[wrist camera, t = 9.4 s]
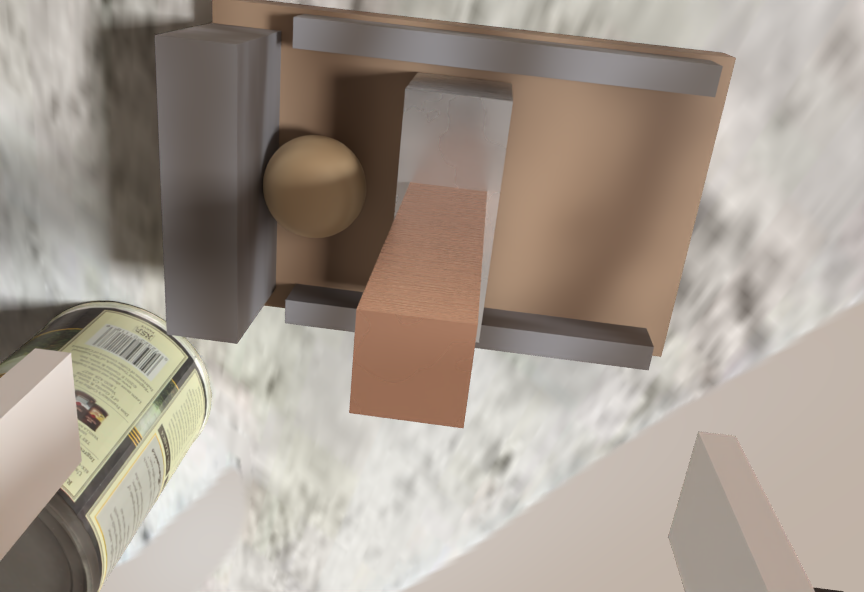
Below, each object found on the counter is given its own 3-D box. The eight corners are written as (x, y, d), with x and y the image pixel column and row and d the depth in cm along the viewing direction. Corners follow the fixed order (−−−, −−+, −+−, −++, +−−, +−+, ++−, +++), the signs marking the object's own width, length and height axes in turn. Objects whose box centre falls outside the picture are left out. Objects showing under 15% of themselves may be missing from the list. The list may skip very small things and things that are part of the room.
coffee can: (41, 447, 45) (-142, 639, 33) (26, 287, 41) (-191, 434, 28) (213, 474, 45) (97, 679, 32) (215, 315, 41) (83, 477, 28)
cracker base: (228, 283, 40) (167, 355, 33) (227, -4, 35) (153, 5, 27) (653, 338, 39) (688, 424, 32) (723, 52, 34) (784, 77, 26)
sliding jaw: (398, 287, 37) (324, 517, 22) (418, 72, 33) (344, 167, 18) (481, 298, 37) (466, 536, 21) (511, 82, 33) (519, 188, 17)
